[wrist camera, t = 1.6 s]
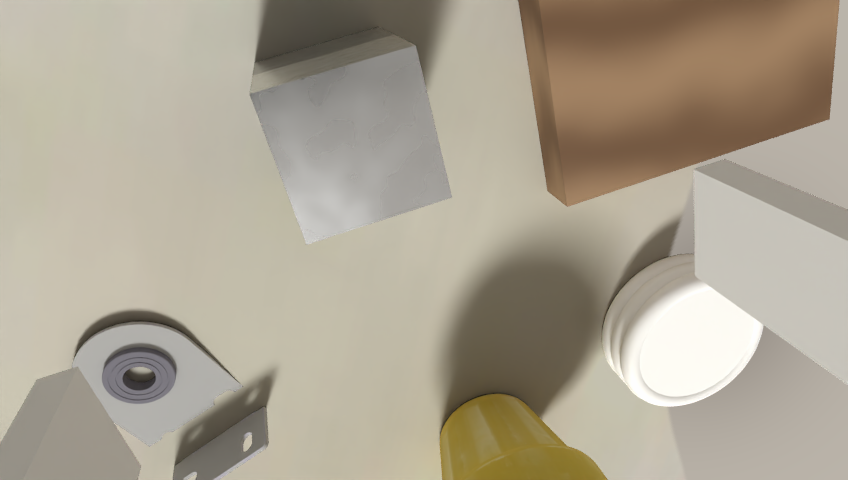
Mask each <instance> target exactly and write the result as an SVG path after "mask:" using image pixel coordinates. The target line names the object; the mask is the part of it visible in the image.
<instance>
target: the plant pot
mask: <svg viewBox="0 0 848 480" xmlns="http://www.w3.org/2000/svg"><path fill="white" fill-rule="evenodd" d="M440 454H441V467H442V480H607V478H606V477H605V475H604V474H603V473H602V471H601V470H600V468H599V467H598V466H597V465H596V463H595V462H594V461H593V460H592V459H591V458H590V457H588V456H587V455H586V454H584V453H583V452H581V451H579V450H577V449H574V448H571V447H568V446H567V445H566V444H565V443H564V442H563V441H562V440H561V439H560V438H559V437H558V436H557V435H556V434H555V433H554V432H553V431H552V430H551V429H550V428H549V427H548V426H547V425H546V424H545V423H544V422H543V421H542V420H541V419H540V418H539V417H538V416H537V415H536V414H535V413H534V412H533V411H532V410H531V409H530V408H529V407H528V406H527V405H526V404H525V403H524V402H523V401H521V400H520V399H518V398H516V397H513V396H510V395H506V394H489V395H484V396H480V397H477V398H474V399H472V400H470V401H468V402H466V403H464V404H463V405H461V406H460V407H459V408H458V409H457V410H455V411H454V412H453V413H452V414H451V416H450V417H449V418H448V420H447V421H446V423H445V425H444V426H443V429H442V431H441V435H440Z"/></svg>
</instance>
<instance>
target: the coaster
mask: <svg viewBox="0 0 848 480" xmlns="http://www.w3.org/2000/svg"><path fill="white" fill-rule="evenodd" d="M762 330H763V324H762V323H760V322H759V321H757V320H756V319H755V318H753V317H752V316H750V315H749V314H748V313H746V312H745V311H743V310H742V309H741V308H739V307H738V306H736V305H735V304H734V303H732V302H731V301H729V300H728V299H727V298H725V297H724V296H722V295H721V294H720V293H718V292H717V291H715V290H714V289H713V288H711V287H710V286H708V285H707V284H706V283H704V282H703V281H701V280H700V279H699V278H697V277H696V276H695V254H680V255H674V256H670V257H667V258H664V259H661V260H659V261H657V262H655V263H652V264H651V265H649V266H647V267H646V268H644V269H643V270H641V271H640V272H639V273H637V274H636V275H635V276H634V277H633V278H631V279H630V280H629V281H628V282H627V283H626V284H625V286H624V287H623V288H622V289H621V290H620V292H619V293H618V294H617V296H616V297H615V299H614V300H613V302H612V304H611V305H610V307H609V310H608V312H607V314H606V317H605V321H604V324H603V330H602V346H603V351H604V354H605V357H606V359H607V361H608V363H609V365H610V367H611V368H612V369H613V370H614V372H616V373H617V374H618V376H619V377H620V378H621V380H622V381H623V382H624V383H626V384H627V386H628V387H629V389H630V390H631V391H632V392H633V393H634V394H635V395H636V396H638V397H639V398H641V399H643V400H645V401H646V402H648V403H651V404H654V405H659V406H679V405H685V404H689V403H693V402H696V401H699V400H702V399H704V398H706V397H708V396H710V395H712V394H714V393H715V392H717V391H719V390H720V389H722V388H723V387H724V386H726V385H727V384H728V383H729V382H731V381H732V380H733V379H734V378H735V377H736V376H737V375H738V374H739V373H740V372H741V371H742V369H743V368H744V367H745V366H746V365H747V363H748V362H749V360H750V359H751V357H752V356H753V354H754V352H755V350H756V348H757V346H758V343H759V341H760V338H761V334H762Z"/></svg>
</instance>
